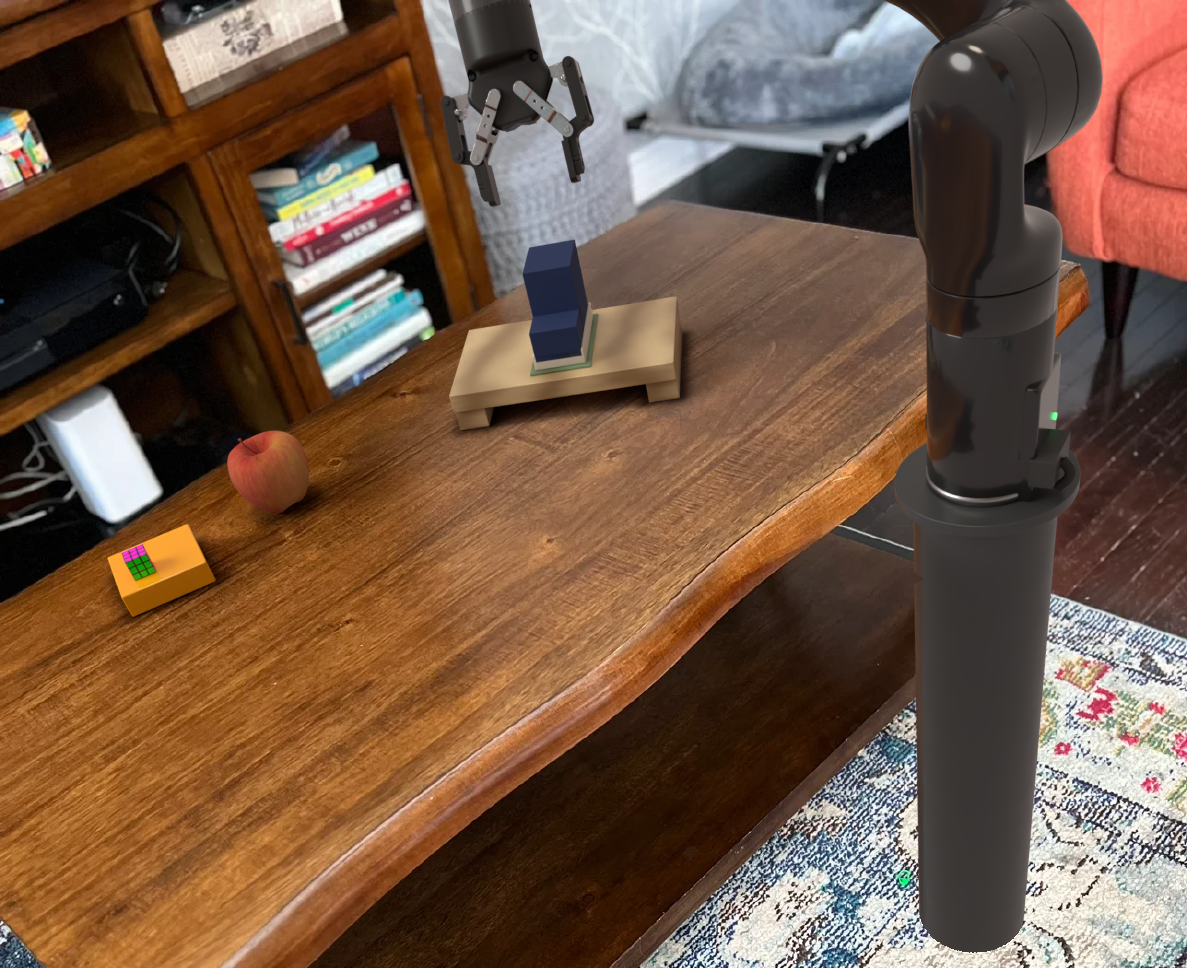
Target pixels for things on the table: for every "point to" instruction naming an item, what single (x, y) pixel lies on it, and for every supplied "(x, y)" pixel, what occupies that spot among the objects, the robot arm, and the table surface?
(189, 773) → the table surface
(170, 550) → the orange rectangular box
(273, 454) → the apple
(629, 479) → the table surface
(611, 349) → the shoe shelf
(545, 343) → the trainer
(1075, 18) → the robot arm
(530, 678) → the table surface
